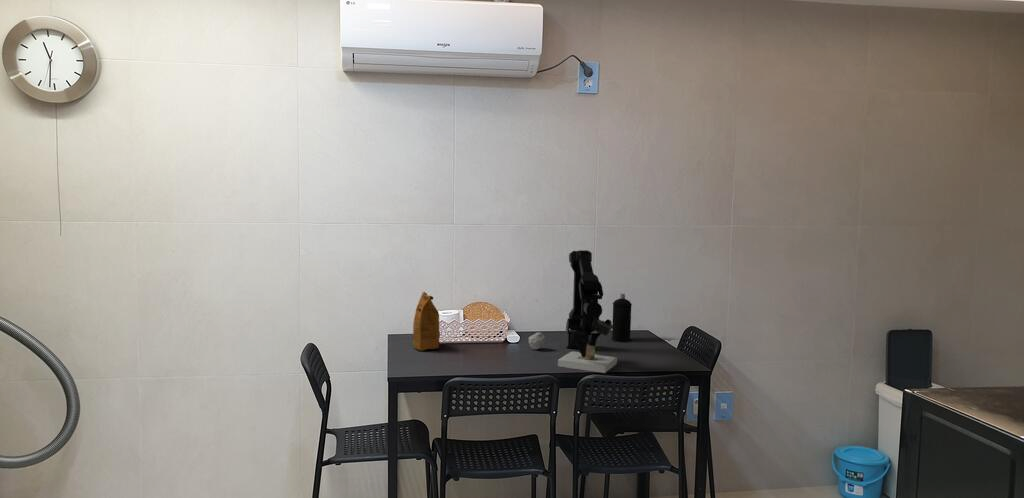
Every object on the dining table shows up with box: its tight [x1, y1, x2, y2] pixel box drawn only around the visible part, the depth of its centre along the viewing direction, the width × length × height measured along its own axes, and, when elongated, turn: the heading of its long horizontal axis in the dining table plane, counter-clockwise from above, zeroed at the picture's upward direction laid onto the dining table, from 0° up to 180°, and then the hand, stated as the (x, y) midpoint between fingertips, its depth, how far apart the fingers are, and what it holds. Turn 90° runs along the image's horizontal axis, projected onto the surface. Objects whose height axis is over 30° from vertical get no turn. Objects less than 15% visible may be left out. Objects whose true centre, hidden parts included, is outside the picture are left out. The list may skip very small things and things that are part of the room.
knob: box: [579, 344, 597, 361], centre depth 265 cm, size 6×5×6 cm
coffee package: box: [412, 291, 441, 352], centre depth 286 cm, size 10×12×22 cm
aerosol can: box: [611, 293, 633, 343], centre depth 305 cm, size 8×8×20 cm
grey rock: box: [527, 332, 546, 351], centre depth 287 cm, size 6×7×7 cm
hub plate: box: [557, 350, 618, 374], centre depth 265 cm, size 18×14×2 cm
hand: (587, 354), depth 265 cm, fingers open, 9 cm apart
